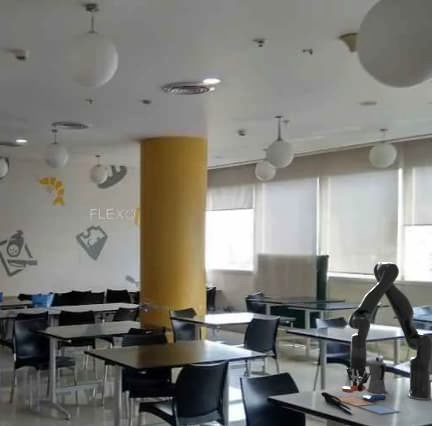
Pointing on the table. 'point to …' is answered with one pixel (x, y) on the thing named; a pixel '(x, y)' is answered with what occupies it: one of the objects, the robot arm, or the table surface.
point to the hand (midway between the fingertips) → (357, 390)
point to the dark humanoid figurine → (335, 402)
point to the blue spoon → (374, 397)
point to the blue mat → (379, 409)
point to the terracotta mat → (355, 401)
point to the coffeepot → (377, 376)
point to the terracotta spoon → (351, 389)
